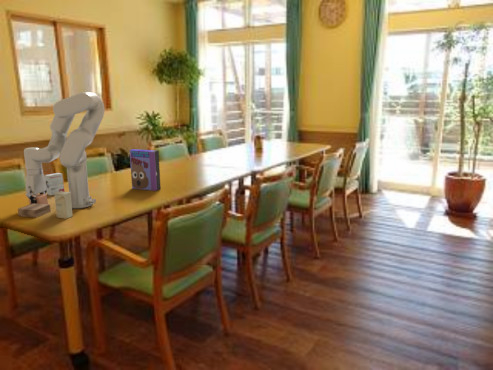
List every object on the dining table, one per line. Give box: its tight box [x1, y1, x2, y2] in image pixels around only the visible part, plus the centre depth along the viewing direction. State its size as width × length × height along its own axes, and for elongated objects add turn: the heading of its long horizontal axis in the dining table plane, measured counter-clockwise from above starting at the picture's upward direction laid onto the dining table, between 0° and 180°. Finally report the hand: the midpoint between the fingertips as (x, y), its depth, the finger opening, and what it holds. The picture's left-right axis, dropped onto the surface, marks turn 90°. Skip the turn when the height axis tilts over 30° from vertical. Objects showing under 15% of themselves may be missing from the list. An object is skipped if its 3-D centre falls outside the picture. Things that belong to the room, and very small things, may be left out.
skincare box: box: [54, 190, 73, 220], centre depth 194 cm, size 6×4×12 cm
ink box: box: [44, 172, 66, 196], centre depth 238 cm, size 9×5×12 cm, turn 141°
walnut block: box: [17, 203, 52, 218], centre depth 201 cm, size 10×10×4 cm
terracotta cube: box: [28, 193, 49, 205], centre depth 212 cm, size 6×6×6 cm
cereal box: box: [128, 148, 162, 192], centre depth 246 cm, size 17×5×24 cm, turn 68°
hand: (39, 205), depth 212 cm, fingers closed on terracotta cube, 6 cm apart
